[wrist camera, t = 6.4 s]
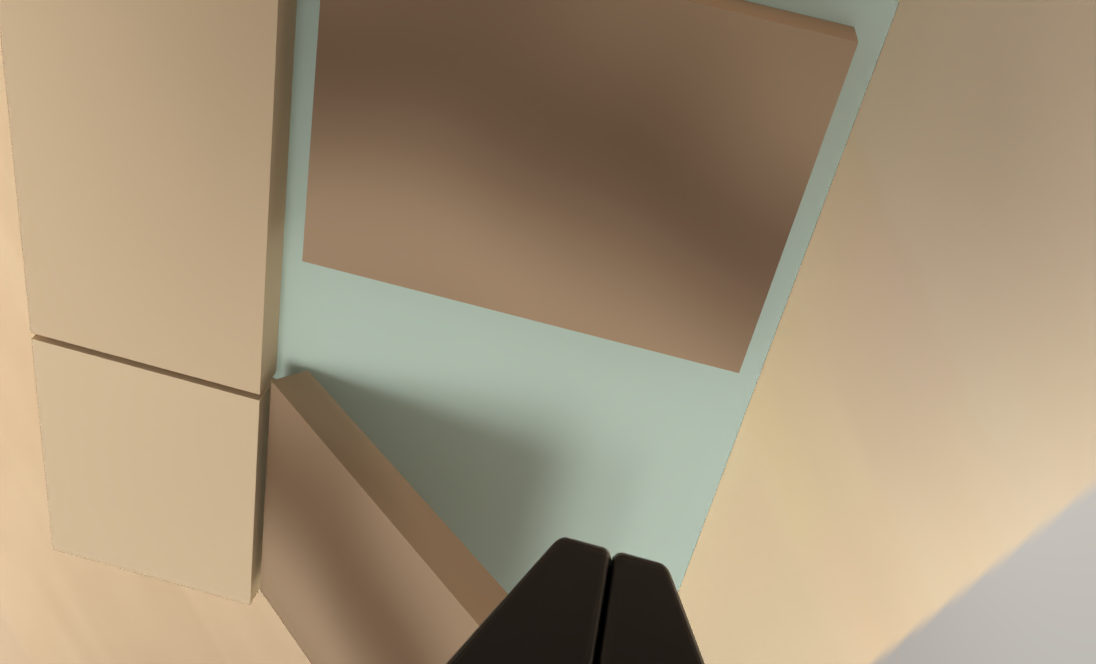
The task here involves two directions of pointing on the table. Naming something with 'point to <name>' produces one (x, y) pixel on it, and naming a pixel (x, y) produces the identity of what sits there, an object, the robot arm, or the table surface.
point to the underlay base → (314, 314)
